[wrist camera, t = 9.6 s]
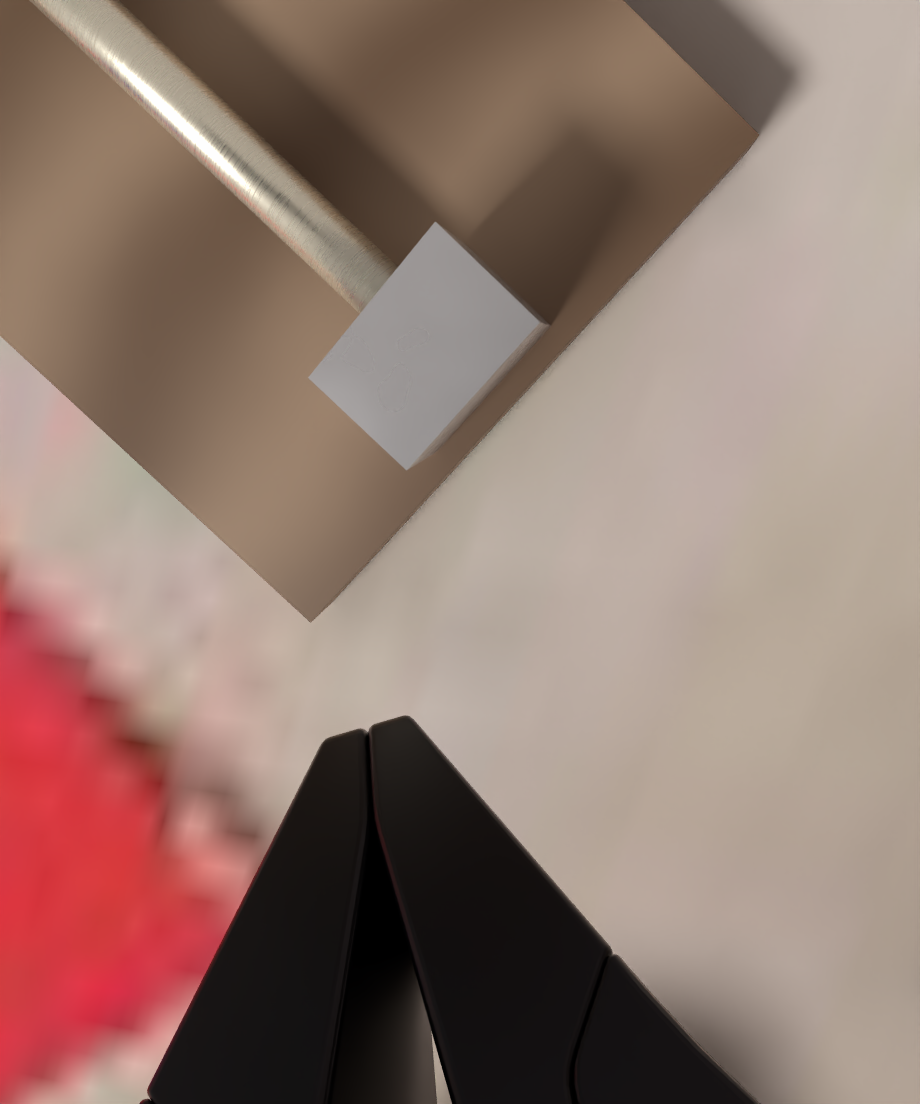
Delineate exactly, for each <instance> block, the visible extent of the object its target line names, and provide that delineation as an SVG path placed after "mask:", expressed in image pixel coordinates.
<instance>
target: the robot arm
mask: <svg viewBox="0 0 920 1104" xmlns="http://www.w3.org/2000/svg"><path fill="white" fill-rule="evenodd" d="M431 1031H432V1034H433V1038H434V1041H435V1045H436V1048H437V1052H438V1055H439V1059H440V1062H441V1066H442V1070H443V1073H444V1077H445V1080H446V1084H447V1087H448V1091H449V1094H450V1098H451V1101H452V1104H760V1103H759V1102H758V1101H757V1100H756V1099H755V1098H754V1097H753V1096H752V1095H751V1094H749V1093H748V1092H747V1091H746V1090H745V1089H744V1088H743V1087H742V1086H741V1085H740V1084H739V1083H738V1082H737V1081H736V1080H735V1079H734V1078H733V1077H732V1076H731V1075H730V1074H729V1073H728V1072H727V1071H726V1070H725V1069H723V1068H722V1067H721V1066H720V1065H719V1064H718V1063H717V1062H716V1061H715V1060H714V1059H713V1058H712V1057H711V1056H710V1055H709V1054H708V1053H707V1052H706V1051H705V1050H704V1049H703V1048H702V1047H701V1046H700V1045H699V1044H698V1043H697V1042H696V1041H695V1040H694V1039H693V1038H692V1037H691V1035H690V1034H689V1033H688V1032H687V1031H686V1030H685V1029H684V1028H683V1027H682V1026H681V1025H680V1024H679V1023H678V1021H677V1020H676V1019H675V1018H674V1017H673V1016H672V1015H671V1014H670V1013H669V1012H668V1011H667V1010H666V1008H665V1007H664V1006H663V1005H662V1004H661V1003H660V1002H659V1001H658V1000H657V999H656V998H655V997H654V996H653V994H652V993H651V992H650V991H649V990H648V989H647V988H646V987H645V985H644V984H643V983H642V982H641V981H640V980H639V979H638V977H637V976H636V975H635V974H634V973H633V972H632V970H631V969H630V968H629V967H628V966H627V965H626V964H625V962H624V961H623V960H622V959H621V958H620V957H619V956H618V955H615V954H613V953H612V949H611V947H610V946H609V945H608V944H607V942H606V941H605V940H604V939H603V938H602V937H601V935H600V934H599V933H598V932H597V931H596V930H595V928H594V927H593V926H592V925H591V924H590V923H589V922H588V920H587V919H586V918H585V917H584V916H583V915H582V913H581V912H580V911H579V910H578V909H577V908H576V907H575V905H574V904H573V903H572V902H571V901H570V900H569V898H568V897H567V896H566V895H565V894H564V893H563V891H562V890H561V889H560V888H559V887H558V886H557V885H556V883H555V882H554V881H553V880H552V879H551V878H550V876H549V875H548V874H547V873H546V872H545V871H544V870H543V868H542V867H541V866H540V865H539V864H538V863H537V861H536V860H535V859H534V858H533V857H532V856H531V855H530V853H529V852H528V851H527V850H526V849H525V848H524V846H523V845H522V844H521V843H520V842H519V841H518V839H517V838H516V837H515V836H514V835H513V834H512V833H511V831H510V830H509V829H508V828H507V827H506V826H505V824H504V823H503V822H502V821H501V820H500V819H499V818H498V816H497V815H496V814H495V813H494V812H493V811H492V809H491V808H490V807H489V806H488V805H487V804H486V802H485V801H484V800H483V799H482V798H481V797H480V796H479V794H478V793H477V792H476V791H475V790H474V789H473V787H472V786H471V785H470V784H469V783H468V782H467V781H466V779H465V778H464V777H463V776H462V775H461V774H460V772H459V771H458V770H457V769H456V768H455V767H454V765H453V764H452V763H451V762H450V761H449V760H448V759H447V757H446V756H445V755H444V754H443V753H442V752H441V750H440V749H439V748H438V747H437V746H436V745H435V744H434V742H433V741H432V740H431V739H430V738H429V737H428V735H427V734H426V733H425V732H424V731H423V730H422V729H421V727H420V726H419V725H418V724H417V723H416V722H415V720H414V719H412V718H411V717H410V716H401V717H397V718H394V719H391V720H387V721H384V722H380V723H377V724H374V725H372V726H371V727H370V729H369V732H367V731H366V730H364V729H356V730H353V731H349V732H346V733H342V734H339V735H336V736H332V737H329V738H327V739H325V741H324V742H323V743H322V744H321V746H320V747H319V749H318V751H317V753H316V755H315V757H314V759H313V761H312V763H311V765H310V767H309V769H308V771H307V773H306V775H305V777H304V779H303V781H302V783H301V785H300V787H299V789H298V791H297V793H296V795H295V797H294V799H293V801H292V803H291V805H290V807H289V809H288V811H287V813H286V815H285V817H284V819H283V821H282V823H281V825H280V827H279V829H278V831H277V833H276V835H275V837H274V839H273V841H272V843H271V845H270V847H269V849H268V851H267V853H266V855H265V857H264V859H263V861H262V862H261V864H260V866H259V868H258V870H257V872H256V874H255V876H254V878H253V880H252V882H251V884H250V886H249V888H248V890H247V892H246V894H245V896H244V898H243V900H242V902H241V904H240V906H239V908H238V910H237V912H236V914H235V916H234V918H233V920H232V922H231V924H230V926H229V928H228V930H227V932H226V934H225V936H224V938H223V940H222V942H221V944H220V946H219V948H218V950H217V952H216V954H215V956H214V958H213V960H212V962H211V964H210V966H209V968H208V970H207V972H206V974H205V976H204V978H203V980H202V981H201V983H200V985H199V987H198V989H197V991H196V993H195V995H194V997H193V999H192V1001H191V1003H190V1005H189V1007H188V1009H187V1011H186V1013H185V1015H184V1017H183V1019H182V1021H181V1023H180V1025H179V1027H178V1029H177V1031H176V1033H175V1035H174V1037H173V1039H172V1041H171V1043H170V1045H169V1047H168V1049H167V1051H166V1053H165V1055H164V1057H163V1059H162V1061H161V1063H160V1065H159V1067H158V1069H157V1071H156V1073H155V1075H154V1077H153V1079H152V1081H151V1083H150V1085H149V1087H148V1090H147V1093H148V1096H149V1098H150V1099H151V1100H150V1099H144V1100H142V1101H141V1102H140V1104H437V1097H436V1085H435V1072H434V1060H433V1047H432V1035H431Z"/></svg>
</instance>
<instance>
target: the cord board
mask: <svg viewBox="0 0 920 1104" xmlns="http://www.w3.org/2000/svg"><path fill="white" fill-rule="evenodd" d="M119 1H120V2H121V3H122V4H123V5H124V6H125V7H126V8H127V9H128V10H129V11H130V12H131V13H132V14H133V15H135V16H136V17H137V18H138V19H139V20H140V21H141V22H142V23H143V24H144V25H145V26H146V27H147V28H148V29H149V30H150V31H151V32H152V33H153V34H154V35H155V36H157V37H158V38H159V39H160V40H161V41H162V42H163V43H164V44H165V45H166V46H167V47H168V48H169V49H170V50H171V51H172V52H173V53H174V54H175V55H176V56H177V57H179V58H180V59H181V60H182V61H183V62H184V63H185V64H186V65H187V66H188V67H189V68H190V69H191V70H192V71H193V72H194V73H195V74H196V75H197V76H198V77H199V78H201V79H202V80H203V81H204V82H205V83H206V84H207V85H208V86H209V87H210V88H211V89H212V90H213V91H214V92H215V93H216V94H217V95H218V96H219V97H220V98H221V99H223V100H224V101H225V102H226V103H227V104H228V105H229V106H230V107H231V108H232V109H233V110H234V111H235V112H236V113H237V114H238V115H239V116H240V117H241V118H242V119H243V120H245V121H246V122H247V123H248V124H249V125H250V126H251V127H252V128H253V129H254V130H255V131H256V132H257V133H258V134H259V135H260V136H261V137H262V138H263V139H264V140H265V141H266V142H268V143H269V144H270V145H271V146H272V147H273V148H274V149H275V150H276V151H277V152H278V153H279V154H280V155H281V156H282V157H283V158H284V159H285V160H286V161H287V162H288V163H290V164H291V165H292V166H293V167H294V168H295V169H296V170H297V171H298V172H299V173H300V174H301V175H302V176H303V177H304V178H305V179H306V180H307V181H308V182H309V183H310V184H312V185H313V186H314V187H315V188H316V189H317V190H318V191H319V192H320V193H321V194H322V195H323V196H324V197H325V198H326V199H327V200H328V201H329V202H330V203H331V204H332V205H334V206H335V207H336V208H337V209H338V210H339V211H340V212H341V213H342V214H343V215H344V216H345V217H346V218H347V219H348V220H349V221H350V222H351V223H352V224H353V225H354V226H356V227H357V228H358V229H359V230H360V231H361V232H362V233H363V234H364V235H365V236H366V237H367V238H368V239H369V240H370V241H371V242H372V243H373V244H374V245H375V246H376V247H378V248H379V249H380V250H381V251H382V252H383V253H384V254H385V255H386V256H387V257H388V258H389V259H390V260H391V261H392V262H393V263H394V264H395V265H396V266H397V267H399V265H400V264H401V263H402V262H403V260H404V259H405V258H406V257H407V255H408V254H409V253H410V252H411V251H412V249H413V248H414V247H415V246H416V244H417V243H418V242H419V241H420V239H421V238H422V237H423V236H424V235H425V233H426V232H427V231H428V230H429V228H430V227H431V226H432V225H433V224H434V222H437V223H438V224H439V225H441V226H442V227H444V228H445V229H446V230H448V231H449V232H450V233H452V234H453V235H455V236H456V237H457V238H459V239H460V240H461V241H463V242H464V243H465V244H466V245H467V246H468V247H469V248H470V249H471V250H472V251H473V252H474V253H476V254H477V255H478V256H479V257H480V258H481V259H482V260H483V261H484V262H485V263H486V264H487V265H488V266H489V267H490V268H491V269H492V270H493V271H494V272H495V273H496V274H497V275H498V276H499V277H500V278H502V279H503V280H504V281H505V282H506V283H507V284H508V285H509V286H510V287H511V288H512V289H513V290H514V291H515V292H516V293H517V294H518V295H519V296H520V297H521V298H522V299H523V300H524V301H525V302H527V303H528V304H529V305H530V306H531V307H532V308H533V309H534V310H535V311H536V312H537V313H538V314H539V315H540V316H541V317H542V318H543V319H544V320H545V321H546V322H547V323H548V324H549V325H550V327H549V329H548V330H547V331H546V332H545V333H544V334H543V335H542V336H541V337H540V339H539V340H538V341H537V342H536V343H535V344H534V345H533V346H532V347H531V348H530V350H529V351H528V352H527V353H526V354H525V355H524V356H523V357H522V358H521V360H520V361H519V362H518V363H517V364H516V365H515V366H514V367H513V368H512V369H511V371H510V372H509V373H508V374H507V375H506V376H505V377H504V378H503V379H502V380H501V382H500V383H499V384H498V385H497V386H496V387H495V388H494V389H493V390H492V392H491V393H490V394H489V395H488V396H487V397H486V398H485V399H484V400H483V401H482V403H481V404H480V405H479V406H478V407H477V408H476V409H475V410H474V411H473V413H472V414H471V415H470V416H469V417H468V418H467V419H466V420H465V421H464V422H463V424H462V425H461V426H460V427H459V428H458V429H457V430H456V431H455V432H454V433H453V435H452V436H451V437H450V438H449V439H448V440H447V441H446V442H445V443H444V445H443V446H442V447H441V448H440V449H439V450H438V451H437V452H435V453H434V454H432V455H430V456H429V457H427V458H426V459H424V460H422V461H421V462H419V463H418V464H416V465H415V466H413V467H411V468H410V469H408V470H407V471H406V470H405V469H404V468H403V467H402V466H401V465H400V464H399V463H398V462H397V461H396V460H395V459H394V458H393V457H392V456H391V455H389V454H388V453H387V452H386V451H385V450H384V449H383V448H382V447H381V446H380V445H379V444H378V443H377V442H376V441H375V440H374V439H372V438H371V437H370V436H369V435H368V434H367V433H366V432H365V431H364V430H363V429H362V428H361V427H360V426H359V425H358V424H357V423H355V422H354V421H353V420H352V419H351V418H350V417H349V416H348V415H347V414H346V413H345V412H344V411H343V410H342V409H341V408H340V407H338V406H337V405H336V404H335V403H334V402H333V401H332V400H331V399H330V398H329V397H328V396H327V395H326V394H325V393H324V392H323V391H321V390H320V389H319V388H318V387H317V386H316V385H315V384H314V383H313V382H312V381H311V380H310V379H309V378H308V377H309V376H310V375H311V373H312V372H313V371H314V370H315V368H316V367H317V366H318V365H319V364H320V362H321V361H322V360H323V359H324V357H325V356H326V355H327V354H328V352H329V351H330V350H331V349H332V348H333V346H334V345H335V344H336V343H337V341H338V340H339V339H340V338H341V336H342V335H343V334H344V333H345V332H346V330H347V329H348V328H349V327H350V325H351V324H352V323H353V322H354V321H355V319H356V318H357V317H358V316H359V314H360V313H358V312H357V311H356V310H355V309H354V308H353V307H352V306H351V305H350V304H349V303H348V302H347V301H346V300H345V299H344V298H343V297H342V296H341V295H339V294H338V293H337V292H336V291H335V290H334V289H333V288H332V287H331V286H330V285H329V284H328V283H327V282H326V281H325V280H324V279H323V278H322V277H321V276H319V275H318V274H317V273H316V272H315V271H314V270H313V269H312V268H311V267H310V266H309V265H308V264H307V263H306V262H305V261H304V260H303V259H302V258H300V257H299V256H298V255H297V254H296V253H295V252H294V251H293V250H292V249H291V248H290V247H289V246H288V245H287V244H286V243H285V242H284V241H283V240H282V239H280V238H279V237H278V236H277V235H276V234H275V233H274V232H273V231H272V230H271V229H270V228H269V227H268V226H267V225H266V224H265V223H264V222H263V221H261V220H260V219H259V218H258V217H257V216H256V215H255V214H254V213H253V212H252V211H251V210H250V209H249V208H248V207H247V206H246V205H245V204H244V203H243V202H241V201H240V200H239V199H238V198H237V197H236V196H235V195H234V194H233V193H232V192H231V191H230V190H229V189H228V188H227V187H226V186H225V185H224V184H223V183H221V182H220V181H219V180H218V179H217V178H216V177H215V176H214V175H213V174H212V173H211V172H210V171H209V170H208V169H207V168H206V167H205V166H204V165H202V164H201V163H200V162H199V161H198V160H197V159H196V158H195V157H194V156H193V155H192V154H191V153H190V152H189V151H188V150H187V149H186V148H185V147H184V146H182V145H181V144H180V143H179V142H178V141H177V140H176V139H175V138H174V137H173V136H172V135H171V134H170V133H169V132H168V131H167V130H166V129H165V128H163V127H162V126H161V125H160V124H159V123H158V122H157V121H156V120H155V119H154V118H153V117H152V116H151V115H150V114H149V113H148V112H147V111H146V110H145V109H143V108H142V107H141V106H140V105H139V104H138V103H137V102H136V101H135V100H134V99H133V98H132V97H131V96H130V95H129V94H128V93H127V92H126V91H124V90H123V89H122V88H121V87H120V86H119V85H118V84H117V83H116V82H115V81H114V80H113V79H112V78H111V77H110V76H109V75H108V74H107V73H106V72H104V71H103V70H102V69H101V68H100V67H99V66H98V65H97V64H96V63H95V62H94V61H93V60H92V59H91V58H90V57H89V56H88V55H87V54H85V53H84V52H83V51H82V50H81V49H80V48H79V47H78V46H77V45H76V44H75V43H74V42H73V41H72V40H71V39H70V38H69V37H68V36H67V35H65V34H64V33H63V32H62V31H61V30H60V29H59V28H58V27H57V26H56V25H55V24H54V23H53V22H52V21H51V20H50V19H49V18H48V17H47V16H45V15H44V14H43V13H42V12H41V11H40V10H39V9H38V8H37V7H36V6H35V5H34V4H33V3H32V2H31V1H30V0H0V336H1V337H2V338H3V339H4V340H5V341H6V342H8V343H9V344H10V345H11V346H12V347H13V348H14V349H15V350H16V351H17V352H18V353H19V354H20V355H22V356H23V357H24V358H25V359H26V360H27V361H28V362H29V363H30V364H31V365H32V366H33V367H35V368H36V369H37V370H38V371H39V372H40V373H41V374H42V375H43V376H44V377H45V378H46V379H48V380H49V381H50V382H51V383H52V384H53V385H54V386H55V387H56V388H57V389H58V390H59V391H61V392H62V393H63V394H64V395H65V396H66V397H67V398H68V399H69V400H70V401H71V402H72V403H74V404H75V405H76V406H77V407H78V408H79V409H80V410H81V411H82V412H83V413H84V414H85V415H87V416H88V417H89V418H90V419H91V420H92V421H93V422H94V423H95V424H96V425H97V426H98V427H99V428H101V429H102V430H103V431H104V432H105V433H106V434H107V435H108V436H109V437H110V438H111V439H112V440H114V441H115V442H116V443H117V444H118V445H119V446H120V447H121V448H122V449H123V450H124V451H125V452H127V453H128V454H129V455H130V456H131V457H132V458H133V459H134V460H135V461H136V462H137V463H138V464H140V465H141V466H142V467H143V468H144V469H145V470H146V471H147V472H148V473H149V474H150V475H151V476H153V477H154V478H155V479H156V480H157V481H158V482H159V483H160V484H161V485H162V486H163V487H164V488H165V489H167V490H168V491H169V492H170V493H171V494H172V495H173V496H174V497H175V498H176V499H177V500H178V501H180V502H181V503H182V504H183V505H184V506H185V507H186V508H187V509H188V510H189V511H190V512H191V513H193V514H194V515H195V516H196V517H197V518H198V519H199V520H200V521H201V522H202V523H203V524H204V525H206V526H207V527H208V528H209V529H210V530H211V531H212V532H213V533H214V534H215V535H216V536H217V537H219V538H220V539H221V540H222V541H223V542H224V543H225V544H226V545H227V546H228V547H229V548H230V549H232V550H233V551H234V552H235V553H236V554H237V555H238V556H239V557H240V558H241V559H242V560H243V561H244V562H246V563H247V564H248V565H249V566H250V567H251V568H252V569H253V570H254V571H255V572H256V573H257V574H259V575H260V576H261V577H262V578H263V579H264V580H265V581H266V582H267V583H268V584H269V585H270V586H272V587H273V588H274V589H275V590H276V591H277V592H278V593H279V594H280V595H281V596H282V597H283V598H285V599H286V600H287V601H288V602H289V603H290V604H291V605H292V606H293V607H294V608H295V609H296V610H298V611H299V612H300V613H301V614H302V615H303V616H304V617H305V618H306V619H307V620H308V621H309V622H310V623H311V622H312V621H313V620H314V619H315V618H316V617H317V616H318V615H319V614H320V613H321V612H322V611H323V610H324V609H325V608H327V607H328V606H329V605H330V604H331V603H332V602H333V601H334V599H335V598H336V597H337V596H338V595H339V594H340V593H341V592H342V591H343V590H344V589H345V588H346V586H347V585H348V584H349V583H350V582H351V581H352V580H353V579H354V578H355V577H356V576H357V574H358V573H359V572H360V571H361V570H362V569H363V568H364V567H365V566H366V565H367V564H368V563H369V561H370V560H371V559H372V558H373V557H374V556H375V555H376V554H377V553H378V552H379V551H380V550H381V548H382V547H383V546H384V545H385V544H386V543H387V542H388V541H389V540H390V539H391V538H392V537H393V535H394V534H395V533H396V532H397V531H398V530H399V529H400V528H401V527H402V526H403V525H404V524H405V522H406V521H407V520H408V519H409V518H410V517H411V516H412V515H413V514H414V513H415V512H416V510H417V509H418V508H419V507H420V506H421V505H422V504H423V503H424V502H425V501H426V500H427V499H428V497H429V496H430V495H431V494H432V493H433V492H434V491H435V490H436V489H437V488H438V487H439V486H440V484H441V483H442V482H443V481H444V480H445V479H446V478H447V477H448V476H449V475H450V474H451V473H452V471H453V470H454V469H455V468H456V467H457V466H458V465H459V464H460V463H461V462H462V461H463V460H464V458H465V457H466V456H467V455H468V454H469V453H470V452H471V451H472V450H473V449H474V448H475V446H476V445H477V444H478V443H479V442H480V441H481V440H482V439H483V438H484V437H485V436H486V435H487V433H488V432H489V431H490V430H491V429H492V428H493V427H494V426H495V425H496V424H497V423H498V422H499V420H500V419H501V418H502V417H503V416H504V415H505V414H506V413H507V412H508V411H509V410H510V409H511V407H512V406H513V405H514V404H515V403H516V402H517V401H518V400H519V399H520V398H521V397H522V396H523V394H524V393H525V392H526V391H527V390H528V389H529V388H530V387H531V386H532V385H533V384H534V382H535V381H536V380H537V379H538V378H539V377H540V376H541V375H542V374H543V373H544V372H545V371H546V369H547V368H548V367H549V366H550V365H551V364H552V363H553V362H554V361H555V360H556V359H557V358H558V356H559V355H560V354H561V353H562V352H563V351H564V350H565V349H566V348H567V347H568V346H569V345H570V343H571V342H572V341H573V340H574V339H575V338H576V337H577V336H578V335H579V334H580V333H581V332H582V330H583V329H584V328H585V327H586V326H587V325H588V324H589V323H590V322H591V321H592V320H593V318H594V317H595V316H596V315H597V314H598V313H599V312H600V311H601V310H602V309H603V308H604V307H605V305H606V304H607V303H608V302H609V301H610V300H611V299H612V298H613V297H614V296H615V295H616V294H617V292H618V291H619V290H620V289H621V288H622V287H623V286H624V285H625V284H626V283H627V282H628V281H629V279H630V278H631V277H632V276H633V275H634V274H635V273H636V272H637V271H638V270H639V269H640V267H641V266H642V265H643V264H644V263H645V262H646V261H647V260H648V259H649V258H650V257H651V256H652V254H653V253H654V252H655V251H656V250H657V249H658V248H659V247H660V246H661V245H662V244H663V243H664V241H665V240H666V239H667V238H668V237H669V236H670V235H671V234H672V233H673V232H674V231H675V230H676V228H677V227H678V226H679V225H680V224H681V223H682V222H683V221H684V220H685V219H686V218H687V217H688V215H689V214H690V213H691V212H692V211H693V210H694V209H695V208H696V207H697V206H698V205H699V203H700V202H701V201H702V200H703V199H704V198H705V197H706V196H707V195H708V194H709V193H710V192H711V190H712V189H713V188H714V187H715V186H716V185H717V184H718V183H719V182H720V181H721V180H722V179H723V177H724V176H725V175H726V174H727V173H728V172H729V171H730V170H731V169H732V168H733V167H734V166H735V164H736V163H737V162H738V161H739V160H740V159H741V158H742V157H743V156H744V155H745V154H746V153H747V151H748V150H749V148H750V147H751V146H752V144H753V143H754V142H755V140H756V139H757V137H758V136H759V134H758V133H757V132H756V131H755V130H754V129H753V128H752V127H751V126H750V125H749V124H748V123H747V122H746V121H745V120H744V119H743V118H742V117H741V116H740V115H739V114H738V113H737V112H736V111H735V110H734V109H733V108H732V107H731V106H730V105H729V104H728V103H727V102H726V101H725V100H724V99H723V98H722V97H721V96H720V95H719V94H718V93H717V92H716V91H715V90H714V89H713V88H712V87H711V86H710V85H709V84H708V83H707V82H706V81H705V80H704V79H703V78H701V77H700V76H699V75H698V74H697V73H696V72H695V71H694V70H693V69H692V68H691V67H690V66H689V65H688V64H687V63H686V62H685V61H684V60H683V59H682V58H681V57H680V56H679V55H678V54H677V53H676V52H675V51H674V50H673V49H672V48H671V47H670V46H669V45H668V44H667V43H666V42H665V41H664V40H663V39H662V38H661V37H660V36H659V35H658V34H657V33H656V32H655V31H654V30H653V29H652V28H651V27H650V26H649V25H648V24H647V23H646V22H645V21H644V20H643V19H642V18H641V17H640V16H639V15H638V14H637V13H636V12H635V11H634V10H633V9H632V8H631V7H630V6H629V5H628V4H627V3H626V2H625V1H624V0H119Z"/></svg>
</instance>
